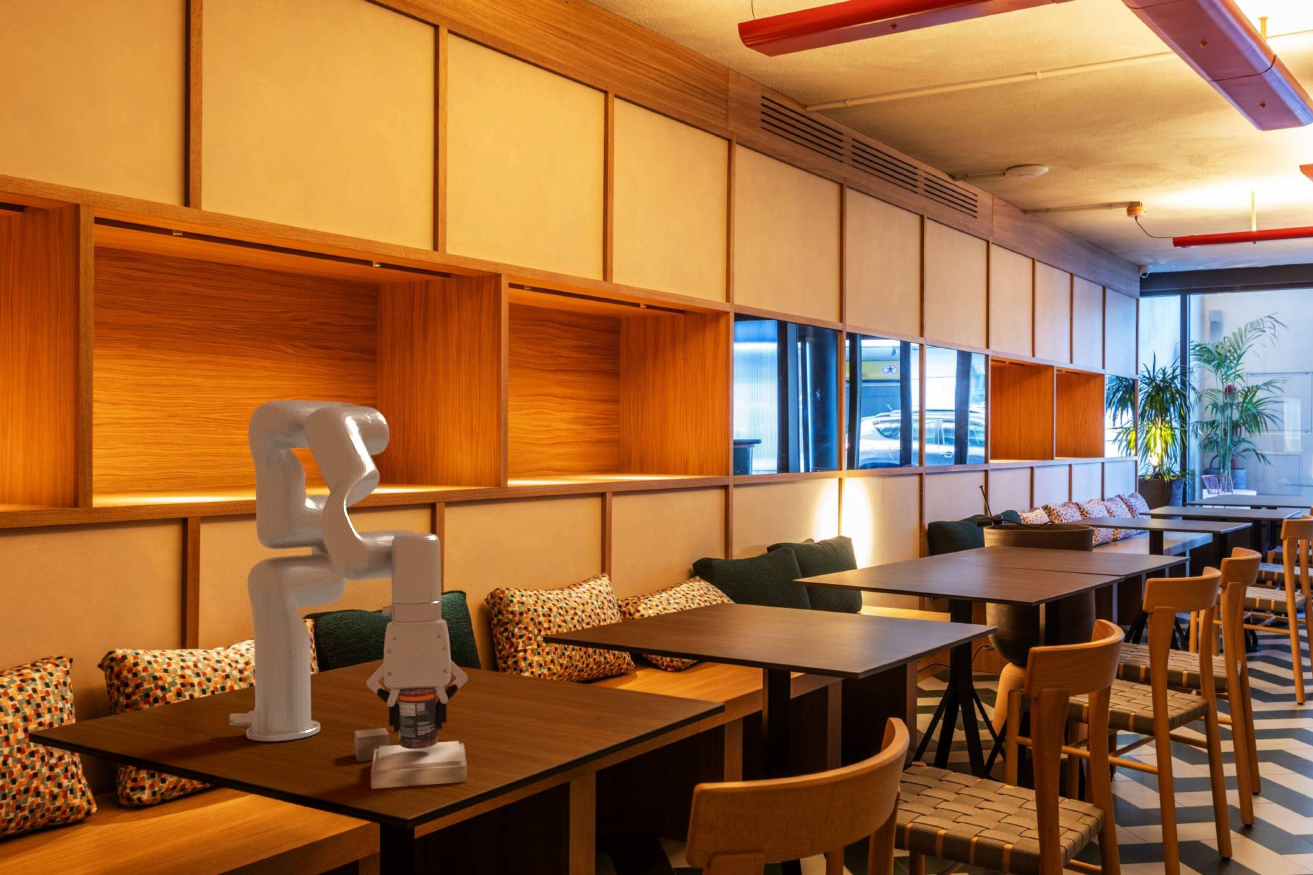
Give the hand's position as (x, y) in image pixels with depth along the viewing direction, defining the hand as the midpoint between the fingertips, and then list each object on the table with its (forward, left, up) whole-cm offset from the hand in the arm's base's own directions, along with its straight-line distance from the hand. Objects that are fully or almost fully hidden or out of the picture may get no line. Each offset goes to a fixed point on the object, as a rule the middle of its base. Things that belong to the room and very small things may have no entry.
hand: (418, 727), depth 177 cm
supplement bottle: (0, 0, -3) cm, 3 cm away
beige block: (-8, +12, -7) cm, 16 cm away
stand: (0, 0, -7) cm, 7 cm away
